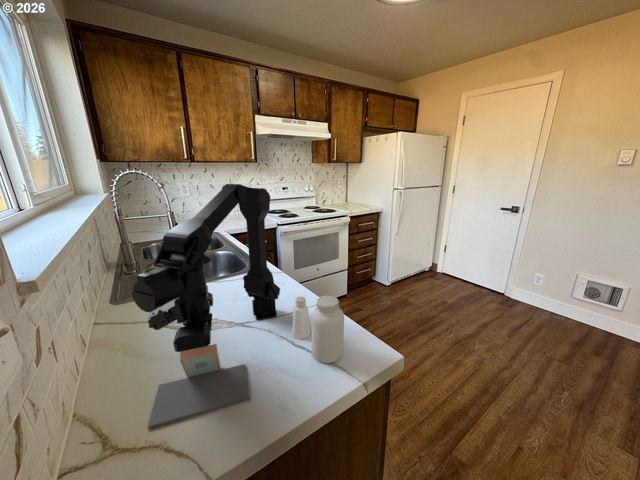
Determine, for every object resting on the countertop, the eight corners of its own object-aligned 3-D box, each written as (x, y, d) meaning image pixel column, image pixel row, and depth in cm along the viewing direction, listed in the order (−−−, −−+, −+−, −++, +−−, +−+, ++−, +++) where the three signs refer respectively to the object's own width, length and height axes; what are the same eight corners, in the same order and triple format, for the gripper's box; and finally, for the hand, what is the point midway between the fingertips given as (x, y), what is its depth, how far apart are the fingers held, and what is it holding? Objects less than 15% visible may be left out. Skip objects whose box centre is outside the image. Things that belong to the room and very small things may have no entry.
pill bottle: (320, 369, 62) (320, 312, 58) (306, 348, 69) (305, 296, 65) (349, 357, 66) (351, 303, 62) (333, 339, 73) (333, 289, 68)
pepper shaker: (287, 333, 75) (286, 298, 72) (301, 325, 79) (300, 291, 76) (301, 342, 72) (300, 306, 68) (315, 333, 75) (314, 298, 72)
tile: (220, 362, 63) (216, 343, 58) (220, 371, 62) (216, 352, 56) (188, 369, 61) (180, 351, 55) (187, 379, 60) (179, 361, 54)
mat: (245, 366, 63) (245, 363, 63) (249, 400, 54) (249, 397, 54) (159, 387, 58) (159, 384, 57) (148, 429, 49) (147, 426, 48)
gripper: (157, 276, 62) (168, 333, 66) (133, 318, 45) (150, 392, 49) (209, 269, 65) (216, 325, 70) (205, 307, 49) (214, 376, 53)
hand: (201, 350), depth 60 cm, fingers closed
